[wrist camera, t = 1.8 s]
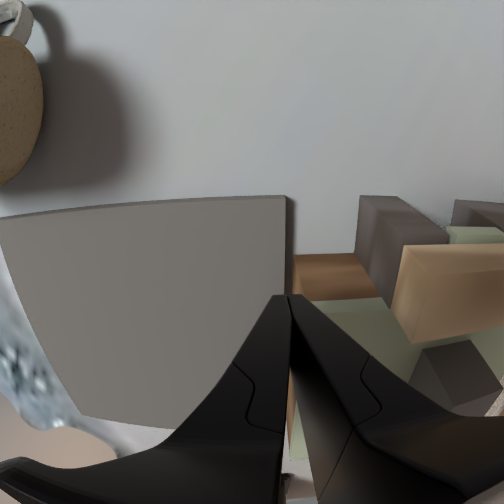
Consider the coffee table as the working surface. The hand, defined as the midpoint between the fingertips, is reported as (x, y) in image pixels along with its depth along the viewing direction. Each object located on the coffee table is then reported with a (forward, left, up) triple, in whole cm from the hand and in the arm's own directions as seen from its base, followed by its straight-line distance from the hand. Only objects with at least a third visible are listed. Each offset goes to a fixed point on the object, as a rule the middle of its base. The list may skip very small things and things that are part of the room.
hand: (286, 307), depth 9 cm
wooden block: (0, -8, -1) cm, 8 cm away
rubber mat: (-7, +8, -6) cm, 13 cm away
